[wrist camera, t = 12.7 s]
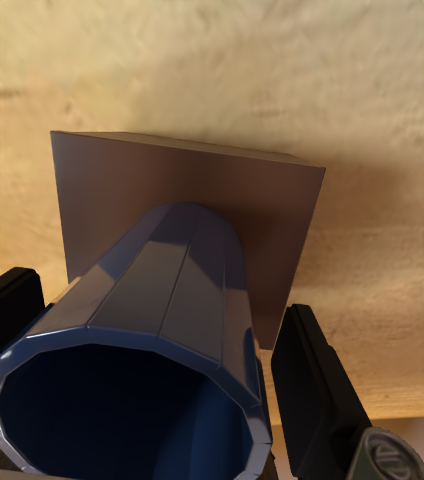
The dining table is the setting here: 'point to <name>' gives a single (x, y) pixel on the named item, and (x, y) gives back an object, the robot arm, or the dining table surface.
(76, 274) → the box lid
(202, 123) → the dining table surface
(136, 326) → the cup
